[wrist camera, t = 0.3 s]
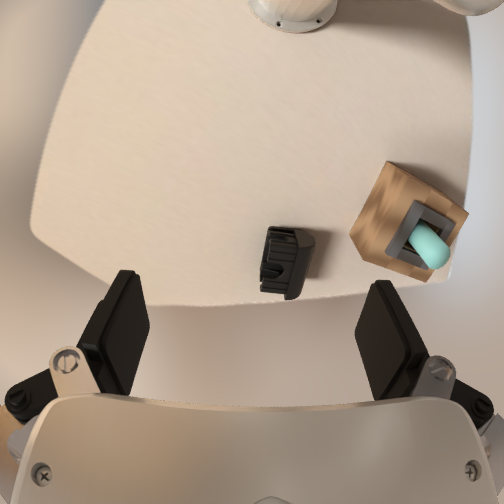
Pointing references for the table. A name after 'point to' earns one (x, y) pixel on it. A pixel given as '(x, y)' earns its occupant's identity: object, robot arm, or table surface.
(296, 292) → the end cap
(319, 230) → the table surface
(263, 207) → the table surface
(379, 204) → the socket block
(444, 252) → the peg
